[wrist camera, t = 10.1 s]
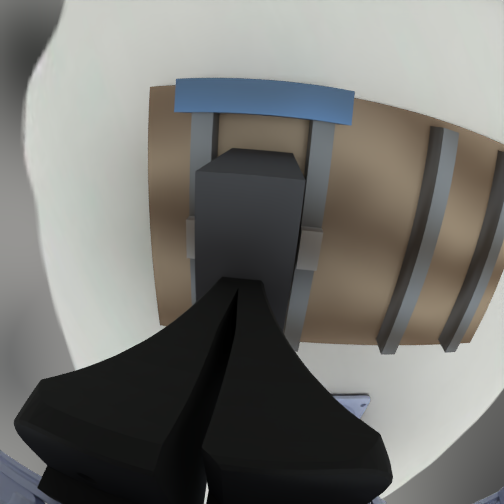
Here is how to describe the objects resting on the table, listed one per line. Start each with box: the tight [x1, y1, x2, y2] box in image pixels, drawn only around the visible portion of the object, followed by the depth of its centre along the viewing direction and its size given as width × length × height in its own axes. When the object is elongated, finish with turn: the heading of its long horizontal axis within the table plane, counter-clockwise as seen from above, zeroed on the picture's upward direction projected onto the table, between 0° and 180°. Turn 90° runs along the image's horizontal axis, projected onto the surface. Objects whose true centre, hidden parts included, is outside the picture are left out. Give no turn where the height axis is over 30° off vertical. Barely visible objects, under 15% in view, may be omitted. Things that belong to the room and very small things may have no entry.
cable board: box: [148, 78, 504, 354], centre depth 15 cm, size 15×24×3 cm, turn 86°
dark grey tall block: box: [195, 148, 305, 332], centre depth 13 cm, size 8×3×7 cm, turn 176°
